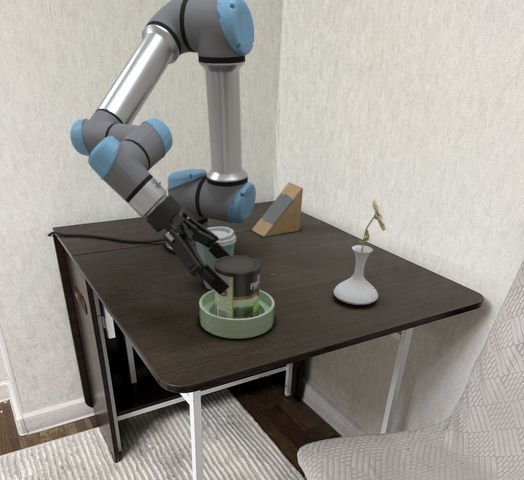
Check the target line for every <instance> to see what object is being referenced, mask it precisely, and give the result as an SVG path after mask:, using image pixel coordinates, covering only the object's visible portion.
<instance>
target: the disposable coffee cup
mask: <svg viewBox="0 0 524 480" xmlns="http://www.w3.org/2000/svg"><path fill="white" fill-rule="evenodd" d="M209 227H210V228H207V229H208V230H210V231H211V232H212V233H214V234H215V236H218V238H219V240H217V241H216V242H218V243H219V244H220V245H221V246H222V247H223V248H224V249H225V251H226V252H227V253H228V254H229V255H230V256H232V255H235V248H236V247H235V246H236V242H237V236H236V234H235V231H234V229H233V228H231V227H229V226H209ZM195 242H196V241H195ZM196 244H197V249H198V254H199V256H200V257H201V259H202V261H203V263H204V264H205V265H207V264H208V265H209V266H210V267H211V268H212V269H213V270H214V262H215V261H216V260H217V259H216V258H215V257H214V256H213V255H212V254H211V253H210V252H209V251H208V250H209V249H210V248H211V247H210V248H208V247H206V246H204V245H202V244H200V243H198V242H196ZM202 280H203V285H204V286H205V288H206V289H208V290H209V291H211V290H214V289H213V288H212V287H211V286H210V285H209V284H208V283H207V282H206V281H205V280H204V279H203V278H202Z"/></svg>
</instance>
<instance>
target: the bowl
mask: <svg viewBox="0 0 524 480" xmlns="http://www.w3.org/2000/svg"><path fill="white" fill-rule="evenodd" d="M275 305H276V304H275V299H274V298H273V297H272V296H271V295H270V294H269V293H268V292H266V291H264V290H262V289H259V314H258V316H255V317H251V318H243V319H231V318H224V317H220V316H216V309H215V290H209V291H207V292H205V293H204V294H203V295H202V296H201V297H200V298H199V301H198V311H199V312H198V313H199V314H198V315H199V323H200V326H201V327H202V329H204V330H205V331H206V332H208V333H210V334H212V335H213V336H217V337H220V338H226V339H250V338H253V337H257V336H261V335H263V334H266V332H268V331H269V330H270V329H271V328H272V327H273V325H274V323H275V321H274V320H275Z"/></svg>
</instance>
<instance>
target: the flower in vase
mask: <svg viewBox="0 0 524 480" xmlns="http://www.w3.org/2000/svg"><path fill="white" fill-rule="evenodd" d="M371 204H372V208H373V211H374V215H373V217H372V218H371V219H370V221H369V222H368V224H367V225H366V226H365V227H366V228H365V229H364V233H363V238H362V239H361V240H359V241H358V243H361V244H356V245H353V246H352V247H351V250H352V251H353V254H354V256H355V258H354V259H355V264H354V266H355V267H354V272H353V274H352V275H351V277H349V278H347V279H345V280H343V281H341V282H340V283H338V284H337V285H336V286H335V287H334V289H333V295H334V296H335V298H336V299H337V300H339V301H341V302H342V303H344V304H348V305H353V306H366V305H370V304H373V303H375V302H376V301H377V300H378V298H379V293H378V291H377V289H376V288H375V287H374V286H373V285H372V284H371V282H369V281H368V280H367V279H366V278H365V275H364V273H365V272H364V271H365V265H366V263H367V259H368V258H369V256H370V254H371V253H373V251H374V249H373V248H372V247H371V246H368V245H365V243H366V242H368V241H370V237H371V236H370V231H369V230H368V228H369V227H370V225H371V224H372V222H373V221H374V220H376V221H377V223H378V225H379V227H380V229H381V231H383V232H384V231H387V228H386V223H385V222H384V221H383V218H384V217H383V214H382V213H381V212H380V207H379V205H378V204H377V200H376V199H372V201H371Z"/></svg>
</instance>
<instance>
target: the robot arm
mask: <svg viewBox="0 0 524 480" xmlns="http://www.w3.org/2000/svg"><path fill="white" fill-rule="evenodd" d="M254 42H255V25H254V20H253V15H252V13H251V9H250V8H249V6H248V4H247V2H246V1H245V0H169V1H168V2H167V3H165V4H164V5H162V6H161V7H160V8H159V9H158V10H157V11H156V12H155V14H154V15H152V17H151V18H150V19H149V21H148V22H147V24H146V25H145V26H144V27H143V29H142V32H141V40H140V43H139V44H138V46H137V47H136V48H135V50H134V52H133V53H132V54H131V56H130V57H129V59H128V61H127V62H126V63H125V65H124V67H123V68H122V70H121V71H120V73H119V74H118V76H117V77H116V79H115V80H114V82H113V83H112V85H111V86H110V88H109V89H108V91H107V93H106V94H105V95H104V97H103V98H102V100H101V102H100V103H99V105H98V106H97V108H96V109H95V111H94V112H93V114H92V115H91V117H90V118H89V119H88V118H84V119H78V120H76V121H74V122H73V123H72V125H71V129H70V132H69V133H70V134H69V135H70V141H71V144H72V147H73V148H74V150H75V151H76V152H77V153H78V154H80V155H82V156H86V157H88V158H87V162H88V166H90V168H91V169H92V170H93V172H95V173H96V174H97V176H98V177H99V178H100V179H101V181H103V182H105V183H106V184H107V186H109V187H110V188H111V189H112V190H113V191H114V192H115V193H116V194H117V195H118V196H119V197H120V198H122V199H123V200H124V201H125V202H126V203H127V204H128V206H129V207H131V208H132V209H133V210H134V211H135V213H137V215H139V216H140V217H141V218H145V220H146V223H147V224H149V225H150V227H151V228H153V229H154V231H156V232H157V233H159V232H162V230H165V232H166V233H165V234H164V235H163V236H162V238H157V239H150V240H133V239H123V238H116V237H112V236H104V235H96V234H85V233H64V232H59V231H50V232H49V233H48V234H47V237H51V236H52V235H58V236H63V237H84V238H86V237H87V238H97V239H104V240H111V241H115V242H122V243H132V244H152V243H159V242H165V247H166V250H168V251H169V252H171V253H173V254H175V255H176V256H177V258H178V259H179V260H180V262H181V263H182V264H183V266H184V268H185V269H186V270H187V272H188V273H189V274H190V275H191V276H192V277H196V276H197V275H198V276H199V277H200V278H201V279H202V280H203V279H204V280H205V281H206V282H207V283H208V284H209V285H210V286H211V287H212V288H213V289H214V290H215V291H216V292H217V293H218V294H219V295H221V294H222V293H223V292H224V291H225V290H226V289H228V288H229V285H228V284H227V283H226V282H225V281H224V280H223V279H222V278H221V277H220V276H219V275H218V274H217V273H216V272H215V271H214V270H213V269H212V268H211V267H210V266H209V265H208V264H207V265H205V264H204V263H203V261H202V259H201V257H200V256H199V254H198V249H197V244H196V242H198V243H200V244H202V245H204V246H206V247H208V248H210V247H211V248H210V249H209V250H208V251H209V252H210V253H211V254H212V255H213V256H214V257H215V258H216V259H219V258H221V257H225V256H230V255H229V254H228V253H227V252H226V251H225V249H224V248H223V247H222V246H221V245H220V244H219V243H218V242H216V241H217V240H219V238H218V236H215V234H214V233H212V232H211V231H210V230H208V229H207V228H210V227H211V226H210V224H209V219H211V220H216V221H221V222H226V223H228V224H231V223H233V224H234V223H235V224H242V223H243V224H244V223H245V222H246V221H247V220H248V219H249V218H250V216H251V214H252V212H253V210H254V208H255V204H256V200H257V199H256V198H257V189H256V186H255V184H254V183H252V182H250V181H249V175H248V174H249V173H248V172H247V171H246V170H245V169H244V168H243V148H242V147H243V146H242V144H243V143H242V110H241V109H242V108H241V77H240V76H241V75H240V73H241V69H242V67H243V66H244V65H245V64H246V56H247V55H249V54H250V53H251V52H252V50H253V47H254V44H253V43H254ZM186 53H193V54H194V53H197V58H198V59H197V60H198V64H199V65H200V66H201V68H203V70H204V72H205V73H204V74H205V89H206V105H207V119H208V137H209V150H210V164H211V168H210V170H209V171H208V172H207V170H206V169H202V168H193V169H184V170H183V169H182V170H177V171H174V172H171V173H170V174H169V175H168V176H167V188H165V187H164V186H163V185H161V183H162V182H161V180H159V179H157V180H156V178H154V176H153V174H151V173H150V172H149V171H150V170H151V169H152V168H153V167H155V165H156V164H158V162H160V161H161V160H162V159H164V158H165V157H166V154H167V153H168V152H169V151H170V150H171V148H172V147H173V144H174V143H173V142H174V139H173V135H172V131H171V130H170V128H169V126H168V125H167V124H166V123H165V122H164V121H162V120H161V119H158V118H155V117H151V118H148V119H146V120H144V121H142V122H141V123H140V124H132V123H133V122H134V120H135V119H136V117H137V116H138V114H139V112H140V111H141V110H142V108H143V106H144V104H145V103H146V101H147V99H148V98H149V97H150V95H151V93H152V92H153V90H154V89H155V87H156V86H157V84H158V82H159V81H160V79H161V78H162V76H163V74H164V72H165V71H166V69H167V68H168V66H169V65H172V64H174V63H176V62H177V60H178V59H179V57H180V56H181V55H183V54H186ZM166 189H167V190H166ZM195 241H196V242H195ZM204 280H203V281H204Z"/></svg>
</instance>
